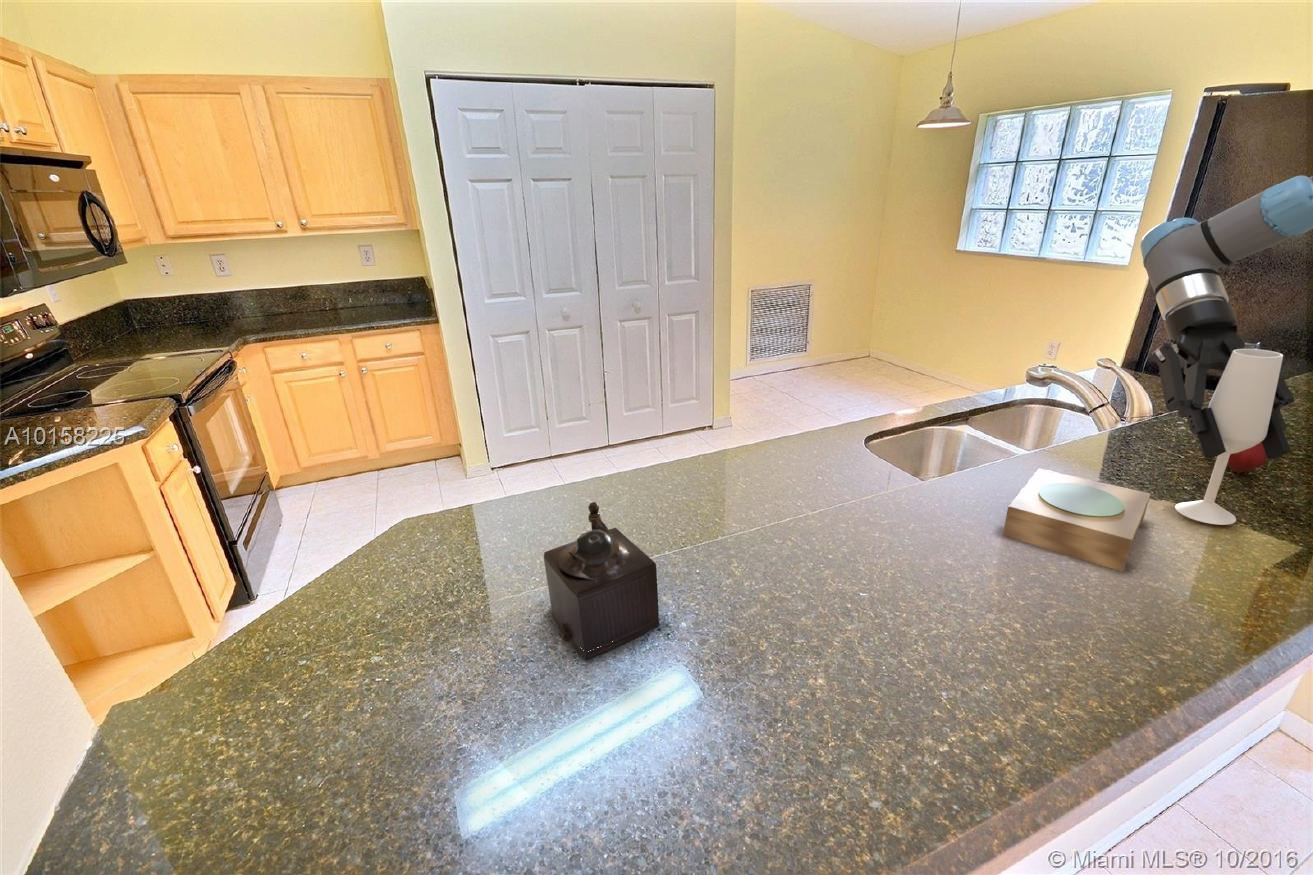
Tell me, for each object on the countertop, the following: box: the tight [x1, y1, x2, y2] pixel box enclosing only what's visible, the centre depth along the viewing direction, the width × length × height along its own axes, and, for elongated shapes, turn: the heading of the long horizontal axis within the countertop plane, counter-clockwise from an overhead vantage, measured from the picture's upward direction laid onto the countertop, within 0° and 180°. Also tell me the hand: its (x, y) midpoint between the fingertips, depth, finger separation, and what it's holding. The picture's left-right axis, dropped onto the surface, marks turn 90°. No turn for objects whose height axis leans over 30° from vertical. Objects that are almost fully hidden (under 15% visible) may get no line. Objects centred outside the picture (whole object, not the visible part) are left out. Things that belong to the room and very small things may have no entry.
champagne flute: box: [1174, 349, 1284, 526], centre depth 80 cm, size 7×7×24 cm
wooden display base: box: [1002, 468, 1152, 572], centre depth 83 cm, size 14×16×5 cm
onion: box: [1227, 442, 1269, 474], centre depth 96 cm, size 6×6×8 cm
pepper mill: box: [543, 501, 660, 661], centre depth 66 cm, size 16×11×18 cm
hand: (1247, 455), depth 78 cm, fingers closed on champagne flute, 7 cm apart
